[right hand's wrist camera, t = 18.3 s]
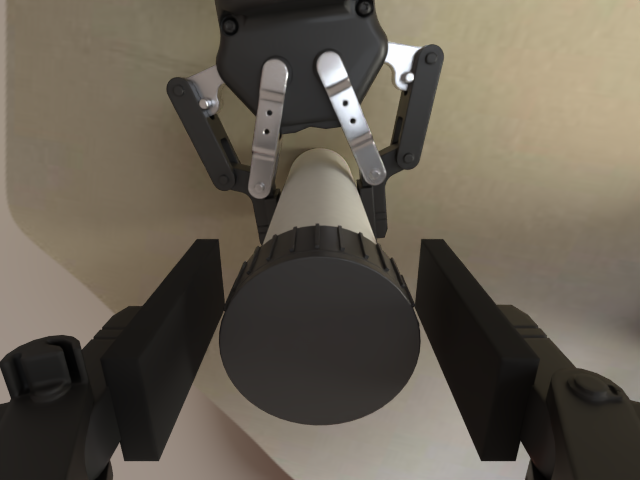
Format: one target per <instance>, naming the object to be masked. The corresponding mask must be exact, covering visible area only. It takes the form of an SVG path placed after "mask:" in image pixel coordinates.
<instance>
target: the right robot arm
mask: <svg viewBox="0 0 640 480" xmlns="http://www.w3.org/2000/svg"><path fill="white" fill-rule="evenodd" d="M224 305H225V300H224V290H223V280H222V270H221V259H220V249H219V239H197V240H196V241H195V242H194V243H193V245H192V246H191V247H190V248H189V250H188V251H187V252H186V253H185V255H184V256H183V257H182V258H181V259H180V261H179V262H178V263H177V264H176V266H175V267H174V268H173V269H172V271H171V272H170V273H169V274H168V275H167V277H166V278H165V279H164V280H163V282H162V283H161V284H160V285H159V287H158V288H157V289H156V290H155V292H154V293H153V294H152V295H151V296H150V298H149V299H148V300H147V301H146V303H145V304H144V305H143V306H128V307H127V308H125V309H123V310H122V311H120V312H118V313H117V314H115V315H113V316H112V317H111V318H110V320H109V321H108V322H107V323H106V324H105V325H104V326H103V327H102V330H100V331H99V332H98V333H97V334H96V335H95V336H94V339H92V340H91V341H90V342H89V343H88V344H87V345H86V346H85V347H84V348H83V349H82V350H81V346H80V342H79V340H77V339H76V338H74V337H72V336H65V335H57V336H48V337H44V338H40V339H37V340H33V341H31V342H29V343H26V344H24V345H21V346H19V347H18V348H16V349H14V350H13V351H11V352H10V353H8V354H7V355H6V356H5V357H4V358H3V359H2V360H1V361H0V368H1V371H2V374H3V377H4V380H5V382H6V385H7V388H8V391H9V394H10V397H11V400H10V402H8V403H4V404H0V480H113V472H112V466H111V462H110V458H111V456H112V455H113V453H114V451H115V449H116V448H117V446H118V444H119V442H120V445H121V449H122V453H123V457H124V461H159V459H160V457H161V455H162V452H163V450H164V448H165V445H166V443H167V441H168V438H169V436H170V434H171V432H172V429H173V427H174V425H175V422H176V420H177V418H178V415H179V413H180V411H181V408H182V406H183V404H184V401H185V399H186V397H187V395H188V392H189V390H190V388H191V385H192V383H193V381H194V378H195V376H196V374H197V371H198V369H199V367H200V364H201V362H202V360H203V357H204V355H205V353H206V351H207V348H208V346H209V344H210V341H211V339H212V337H213V334H214V332H215V330H216V327H217V325H218V323H219V320H220V318H221V316H222V313H223V308H224ZM415 309H416V311H417V313H418V316H419V318H420V320H421V323H422V325H423V327H424V330H425V332H426V334H427V337H428V339H429V341H430V344H431V346H432V348H433V351H434V353H435V355H436V357H437V360H438V362H439V364H440V367H441V369H442V371H443V374H444V376H445V378H446V381H447V383H448V385H449V388H450V390H451V392H452V395H453V397H454V399H455V401H456V404H457V406H458V408H459V411H460V413H461V415H462V418H463V420H464V422H465V425H466V427H467V429H468V432H469V434H470V436H471V439H472V441H473V443H474V445H475V448H476V450H477V452H478V455H479V457H480V459H481V461H516V457H517V453H518V449H519V445H520V441H521V442H522V444H523V446H524V447H525V449H526V451H527V453H528V454H529V456H530V462H529V466H528V470H527V474H526V478H525V480H640V402H635V401H632V400H630V399H629V398H628V396H627V395H626V394H625V392H624V391H623V390H622V389H621V388H620V387H619V386H617V385H616V384H615V383H613V382H612V381H611V380H609V379H607V378H605V377H603V376H601V375H599V374H597V373H594V372H591V371H587V370H584V369H579V368H576V367H575V366H574V365H573V364H572V363H571V362H570V360H569V359H568V358H567V357H566V356H565V355H564V354H563V353H562V352H561V351H560V350H559V348H558V347H557V346H556V345H555V344H554V343H553V342H552V341H551V340H550V339H549V338H547V335H546V334H545V333H544V332H543V331H542V330H541V329H540V328H538V325H537V324H536V323H535V322H534V321H533V320H532V319H531V318H530V317H529V316H528V315H527V314H526V313H524V312H522V311H521V310H519V309H517V308H516V307H514V306H512V305H496V304H495V303H494V301H493V300H492V299H491V298H490V296H489V295H488V294H487V293H486V291H485V290H484V289H483V288H482V287H481V285H480V284H479V283H478V282H477V280H476V279H475V278H474V277H473V275H472V274H471V273H470V272H469V271H468V269H467V268H466V267H465V266H464V264H463V263H462V262H461V261H460V259H459V258H458V257H457V256H456V255H455V253H454V252H453V251H452V250H451V248H450V247H449V246H448V245H447V243H446V242H445V241H444V240H443V239H421V249H420V260H419V270H418V280H417V290H416V300H415Z"/></svg>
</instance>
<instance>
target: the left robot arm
mask: <svg viewBox="0 0 640 480" xmlns="http://www.w3.org/2000/svg"><path fill="white" fill-rule="evenodd" d="M215 5H216V10H217V16H218V21H219V27H220V35H221V37H220V46H219V50H218V53H217V57H216V65H214V66H212V67H210V68H208V69H206V70H203V71H201V72H199V73H197V74H195V75H193V76H191V77H188V78H180V77H176V78H173V79H171V80H170V81H169V82H168V84H167V94H168V96H169V98H170V100H171V102H172V104H173V106H174V108H175V110H176V112H177V113H178V115H179V117H180V119H181V121H182V123H183V125H184V127H185V129H186V131H187V133H188V135H189V137H190V139H191V141H192V143H193V145H194V147H195V149H196V150H197V152H198V154H199V156H200V158H201V160H202V162H203V164H204V166H205V168H206V170H207V172H208V174H209V176H210V178H211V180H212V182H213V184H214V185H215V186H216V188H218V189H219V190H222V191H227V190H234V191H239V192H243V193H245V194H247V195H248V196H249V197H250V198H251V200H252V202H253V207H254V212H255V218H256V223H257V228H258V233H259V239H260V243H261V245H263V242H264V240H265V237H266V234H267V231H268V229H269V226H270V223H271V220H272V218H273V215H274V212H275V209H276V207H277V204H278V201H279V199H280V196H281V192H280V189H276V186H275V179H276V173H277V167H278V161H279V155H280V150H281V146H282V140H283V134H288V133H296V132H298V131H300V130H303V129H305V128H308V127H317V128H324V129H328V128H337V127H341V128H342V130H343V132H344V135H345V137H346V139H347V141H348V144H349V146H350V148H351V150H352V153H353V155H354V157H355V160H356V162H357V164H358V166H359V174H360V179H359V180H356V181H357V190H358V193H359V196H360V199H361V201H362V204H363V207H364V210H365V212H366V215H367V218H368V221H369V223H370V226H371V229H372V232H373V234H374V237H375V240H376V243H377V239H376V238H385V235H386V232H387V214H386V198H385V184H386V182H387V180H388V178H389V177H390V176H392V175H393V174H395V173H397V172H400V171H402V170H404V169H405V170H410V169H413V168H414V167H416V166H417V164H418V163H419V160H420V156H421V152H422V148H423V144H424V140H425V135H426V131H427V127H428V123H429V119H430V114H431V110H432V106H433V102H434V98H435V93H436V89H437V85H438V81H439V77H440V73H441V68H442V64H443V60H444V54H443V51H442V49H441V48H440V47H439V46H437V45H434V44H431V45H426V46H423V47H416V46H410V45H405V44H399V43H393V42H388V40H387V36H386V34H385V32H384V31H383V29H382V27H381V26H380V24H379V21H378V19H377V15H376V11H375V0H215ZM383 63H384V64H386V65H388V66H389V68H390V69H391V72H392V83H393V85H394V87H395V88H396V89H398V90H401V91H402V92H401V97H400V101H399V106H398V111H397V116H396V121H395V125H394V130H393V135H392V140H391V144H390V146H389V147H387V148H385V149H383V150H381V151H379V152H378V150H377V147H376V145H375V143H374V140H373V137H372V134H371V131H370V129H369V126H368V124H367V121H366V119H365V117H364V114H363V112H362V109H361V107H360V104H361V103H362V101H363V99H364V97H365V95H366V94H367V92H368V90H369V88H370V87H371V85H372V83H373V81H374V79H375V78H376V76H377V74H378V72H379V71H380V69H381V67H382V65H383ZM225 85H227V86H228V87H229V88H230V89H231V90H232V92H233V93H234V94H235V95H236V96H237V97H238V98H239V99H240V100H241V101H242V102H243V103H244V104H245V105H246V106H247V107H248V109H249V110H250V111H251V112H252V113H253V114H254V115H255V116H256V123H255V131H254V138H253V145H252V162H251V166H247V165H243V164H241V163H240V161H239V159H238V157H237V155H236V153H235V151H234V148H233V146H232V144H231V142H230V140H229V138H228V136H227V134H226V132H225V130H224V128H223V126H222V123H221V121H220V119H219V117H218V115H217V114H218V113H219V112H220V111H221V110H222V108H223V100H222V96H221V92H222V88H223V87H224V86H225Z"/></svg>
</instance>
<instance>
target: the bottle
mask: <svg viewBox="0 0 640 480" xmlns="http://www.w3.org/2000/svg"><path fill="white" fill-rule="evenodd" d="M316 223H319V225H325V226H334V227H338V225H340V226H342V228H344V229H348V230H350V231H353V232H356V233H359V232H361V233H363V236H364V237H366V238H368V239H369V240H371V241H372V242H373V243H375V244H377V243H376V240H375V237H374V234H373V232H372V229H371V226H370V223H369V221H368V218H367V215H366V212H365V210H364V207H363V204H362V201H361V199H360V196H359V193H358V190H357V188H356V185H355V182H354V179H353V177H352V174H351V171H350V168H349V166H348V164H347V162H346V161H345V160H344V158H343V157H342V156H341V155H339V154H338V153H336V152H334V151H332V150H330V149H326V148H315V149H310V150H308V151H305V152H304V153H302V154H301V155H300V156H298V157H297V158H296V160H295V161H294V162H293V164H292V166H291V168H290V171H289V174H288V177H287V179H286V182H285V185H284V188H283V190H282V193H281V196H280V199H279V201H278V204H277V207H276V209H275V212H274V215H273V218H272V220H271V223H270V226H269V229H268V231H267V234H266V237H265V240H264V242H263V245H264V244H265V243H266V242H267V241H269V240H270V239H272V237H273V235H275V234H277V235H279V234H282V233H284V232H287V231H289V230H292V229H293V227H295V226H297V228H300V227H306V226H315V225H316Z"/></svg>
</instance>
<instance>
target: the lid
mask: <svg viewBox="0 0 640 480" xmlns="http://www.w3.org/2000/svg"><path fill="white" fill-rule="evenodd" d="M413 307H415V303H414V301H413V299H412V296H411V294H410V292H409V289H408V287H407V285H406V283H405V280H404V278H403V276H402V275H400V273H399V270H398V268H397V266H396V263H395V261H394V259H393V258H391V259H390V258H389V257H388V256H387V254H386V253H385V252H384V251H383V250H382V248H381V245H380V244H379V243H377V244H375V243H373V242H372V241H371V240H369V239H368V238H366V237H364V236H363V233H361V232H359V233H356V232H353V231H350V230H348V229H344V228H342V226H340V225H338V227H334V226H325V225H319V223H316V225H315V226H306V227H300V228H297V226H295V227H293V229H292V230H289V231H287V232H284V233H282V234H279V235H277V234H275V235H273V237H272V239H270V240H269V241H267V242H266V243H265V244H264V245H262V246H261V247H259V246H257V247H256V249H255V252H254V254H253V255H252V256H251V258H250V259H249V260H248V262H246V261H244V263H243V265H242V267H241V270H240V272H239V274H238V277H237V278H236V280H235V282H234V285H233V287H232V289H231V291H230V294H229V296H228V298H227V301H226V303H225V305H224V308H223V311H225V313H224V316H223V318H222V321H221V326H220V331H219V347H220V355H221V358H222V362H223V365H224V368H225V370H226V372H227V374H228V376H229V378H230V380H231V381H232V383H233V384H234V386H235V387H236V388H237V389H238V390H239V392H240V393H241V394H242V395H243V396H244V397H245V398H246V399H248V400H249V401H250V402H251V403H252V404H254V405H255V406H257V407H258V408H260V409H261V410H263V411H265V412H267V413H268V414H271V415H273V416H275V417H278V418H280V419H283V420H287V421H290V422H295V423H300V424H307V425H333V424H340V423H345V422H350V421H353V420H356V419H359V418H362V417H364V416H367V415H369V414H371V413H373V412H375V411H376V410H378V409H380V408H382V407H383V406H384V405H386V404H387V403H388V402H390V401H391V400H392V399H393V398H394V397H395V396H396V395H397V394H398V393H399V392H400V391H401V390H402V389H403V387H404V386H405V385H406V384H407V382H408V380H409V379H410V377H411V375H412V374H413V371H414V369H415V366H416V364H417V360H418V357H419V353H420V342H421V340H420V329H419V322H418V319H417V317H416V314H415V312H414V309H413Z"/></svg>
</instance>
